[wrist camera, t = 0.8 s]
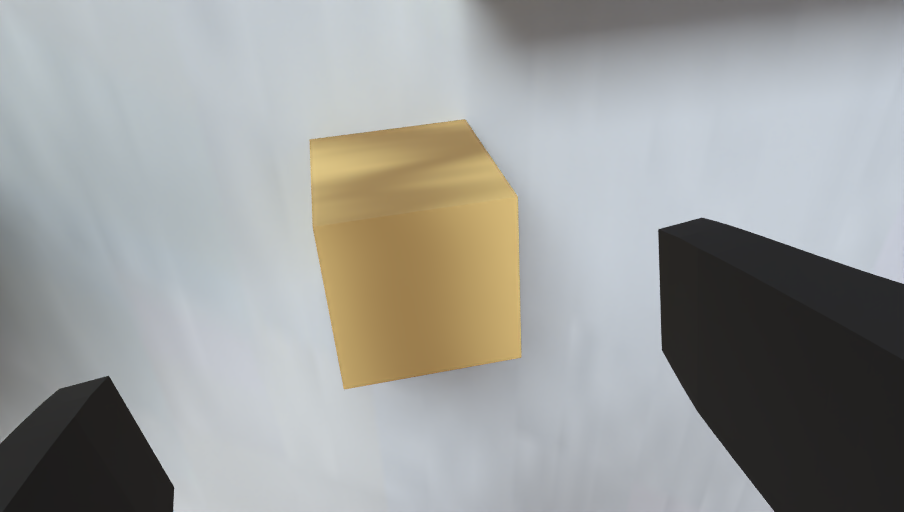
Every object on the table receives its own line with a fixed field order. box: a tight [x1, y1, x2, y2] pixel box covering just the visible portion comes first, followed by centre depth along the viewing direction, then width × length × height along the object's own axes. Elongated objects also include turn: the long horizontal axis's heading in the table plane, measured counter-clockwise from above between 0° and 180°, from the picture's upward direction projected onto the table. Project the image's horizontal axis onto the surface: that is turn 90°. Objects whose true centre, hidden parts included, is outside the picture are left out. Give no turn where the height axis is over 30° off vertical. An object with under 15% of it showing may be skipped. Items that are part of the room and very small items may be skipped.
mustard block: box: [310, 119, 521, 389], centre depth 16 cm, size 4×4×5 cm
